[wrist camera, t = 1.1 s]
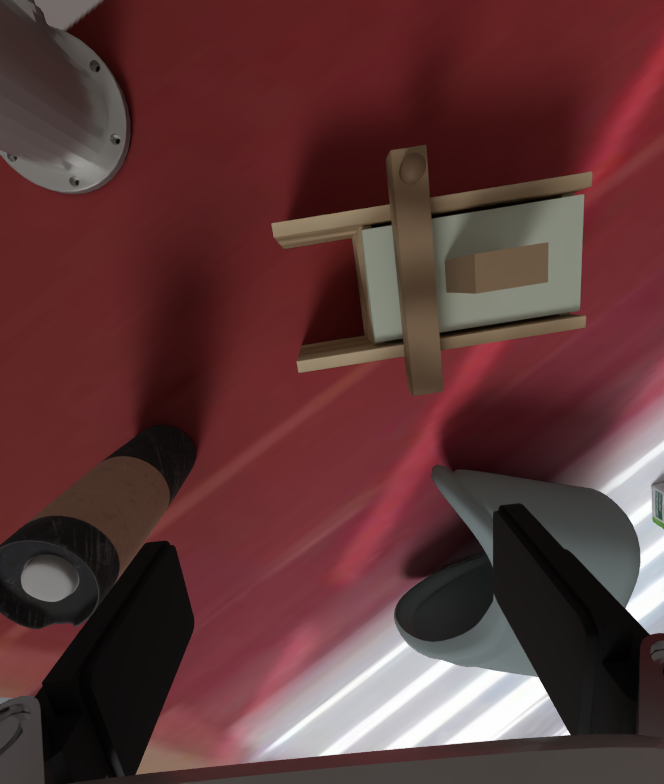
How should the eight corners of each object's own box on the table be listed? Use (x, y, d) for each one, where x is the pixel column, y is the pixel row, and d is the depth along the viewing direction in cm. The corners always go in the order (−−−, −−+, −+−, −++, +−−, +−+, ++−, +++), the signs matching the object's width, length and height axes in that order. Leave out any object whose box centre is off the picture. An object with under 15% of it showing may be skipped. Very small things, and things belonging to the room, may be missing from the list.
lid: (360, 232, 30) (372, 216, 23) (574, 197, 30) (650, 171, 23) (373, 340, 33) (387, 355, 26) (570, 309, 33) (637, 315, 26)
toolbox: (282, 238, 37) (271, 223, 28) (527, 198, 36) (592, 171, 28) (303, 354, 40) (298, 372, 31) (527, 318, 40) (585, 327, 31)
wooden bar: (385, 160, 27) (393, 144, 24) (418, 154, 27) (431, 137, 24) (407, 389, 32) (417, 400, 29) (435, 384, 32) (448, 395, 29)
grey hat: (519, 608, 51) (577, 710, 39) (387, 589, 50) (403, 686, 38) (572, 469, 45) (661, 536, 33) (423, 445, 45) (456, 505, 32)
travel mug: (157, 409, 41) (17, 516, 22) (211, 450, 43) (125, 582, 24) (119, 455, 43) (-45, 592, 23) (173, 493, 44) (61, 650, 25)
